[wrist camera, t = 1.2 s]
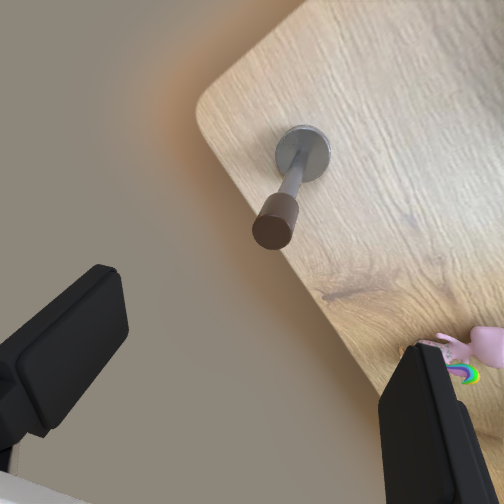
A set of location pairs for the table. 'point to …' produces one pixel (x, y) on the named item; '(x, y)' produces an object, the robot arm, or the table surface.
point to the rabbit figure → (471, 351)
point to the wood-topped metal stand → (291, 184)
